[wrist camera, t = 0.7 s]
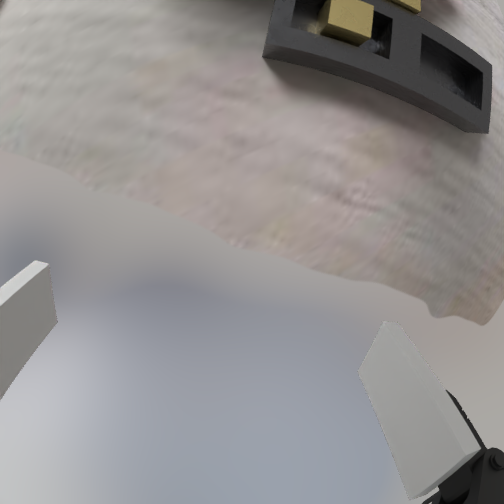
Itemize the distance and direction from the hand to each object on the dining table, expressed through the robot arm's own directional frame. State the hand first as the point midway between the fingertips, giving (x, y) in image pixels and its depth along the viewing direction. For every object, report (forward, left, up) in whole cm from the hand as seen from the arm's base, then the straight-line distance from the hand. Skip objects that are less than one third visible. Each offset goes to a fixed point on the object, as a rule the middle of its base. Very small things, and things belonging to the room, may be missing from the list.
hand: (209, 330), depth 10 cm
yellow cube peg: (-23, +8, -24) cm, 34 cm away
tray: (-23, +15, -25) cm, 37 cm away
